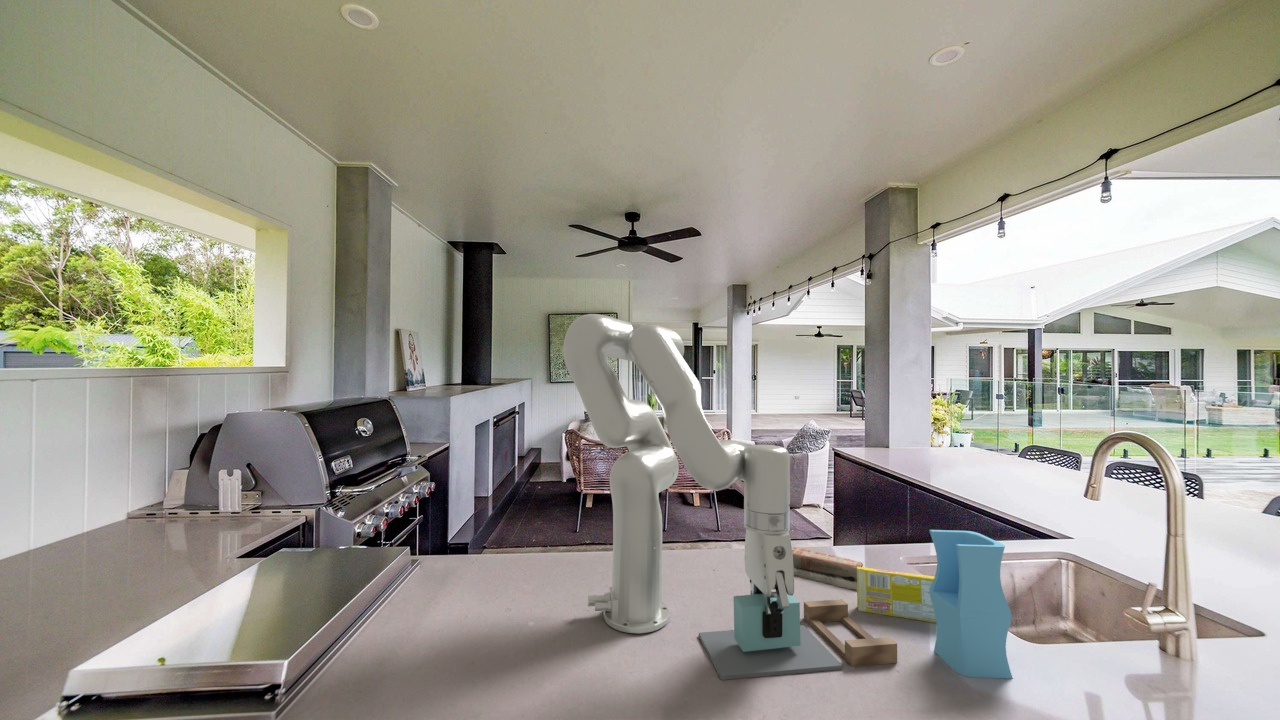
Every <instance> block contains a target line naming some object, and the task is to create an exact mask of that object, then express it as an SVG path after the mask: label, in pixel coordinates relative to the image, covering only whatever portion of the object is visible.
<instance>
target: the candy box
mask: <svg viewBox="0 0 1280 720" xmlns="http://www.w3.org/2000/svg"><path fill="white" fill-rule="evenodd" d="M934 577H935V575H925V574H918V573H911V572H910V573H909V572H902V571H895V570H887V569H879V568H871V567H863V566H862V567H857V590H856V593H857V599H856V601H857V603H856V605H857V610H858V611H859V612H863V613H864V612H866V613H870V614H871V613H872V614H878V615H885V616H890V617H895V618H903V619H910V620H913V621H915V620H916V621H921V622H927V623H928V622H929V623H934V624H937V623H936V617H935V612H934V608H933V604H932V601H931V598H930V592H929V589H930V587H931V584H932V582H933V580H934Z"/></svg>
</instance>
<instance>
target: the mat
mask: <svg viewBox="0 0 1280 720" xmlns="http://www.w3.org/2000/svg"><path fill="white" fill-rule="evenodd" d="M698 637H699V640H700V641H701V643H702V645H703V647H704V649H705V651H706V653H707V655H708V657H709V658H710V659H709V660H711V663H712V664H713V667H714V669H715V670H716V672H717V674H718V677H719V679H720V680H721V681H724V680H726V681H727V680H736V679H737V680H738V679H748V678H758V677H770V676H779V675H783V676H784V675H792V674H802V673H803V674H804V673H815V672H825V671H835V670H837V671H838V670H843V664H841V662H840V661H839V660H838V659H837V658H836V657H835V656H834V655H833V654H832V653H831V652H830V650H828V649H827V648H826V647H825V646H824V645H823V643H822V642H820V640H819V639H817V637H816V636H815V635H814V634H813V633H812V632H811V631H810V630H809V629H808V628H807V627H806V626H805V625H804V624H800V642H801V646H793V647H784V648H774V649H765V650H756V651H746V652H743V651H742V649H741V648H740V646H739V645H738V643H737V642H736V640H735V638H734V629H732V630H718V631H704V632H698Z"/></svg>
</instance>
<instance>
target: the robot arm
mask: <svg viewBox="0 0 1280 720" xmlns="http://www.w3.org/2000/svg"><path fill="white" fill-rule="evenodd" d="M563 341H564V342H563V347H562V350H563V351H562V353H563V354H562V355H563V360H564V364H565V366H566V369H567V371H568V373H569V376H570V378H571V380H572V382H573V383H574V386H575V387H576V389H577V391H578V394H579V395H580V399H581V401H582V403H583V406H584V408H585V410H586V413H587V415H588V417H589V418H588V419H589V421H590V422H591V425H592V427H593V429H594V432H595V434H596V436H597V438H598V440H599V441H600V442H601V444H603V446H606V447H607V448H612V449H618V448H619V449H620V448H625V447H626V448H627V450H628V452H625V453H623V454H622V455H621V456H619V457H618V458H617V459H616V460H615V462H614V463H613V464H612V467H611V469H610V471H609V472H610V473H609V489H610V495H611V496H610V497H611V501H612V502H611V503H612V515H613V516H612V522H613V523H612V524H613V525H612V536H613V537H612V582H611V583H612V585H611V586H609V589H608V590H609V591H607V592H604V594H588V595H587V606H588V607H594V611H595V612H600V611H603V620H604V622H605V623H606V624H607V625H608V626H609V627H611V629H612V628H613V629H614V630H616V631H619V632H623V633H628V634H646V633H647V634H648V633H652V632H655V631H658V630H660V629H662V628H664V626H666V625H667V624H668V623H669V620H670V609H669V607H668V606H667V605H666V603H665V602H664V601H663V600H662V592H663V591H662V589H663V588H662V587H663V583H662V581H663V577H662V576H663V514H662V509H661V505H660V497H659V495H660V494H659V493H662V492H663V491H665V490H666V489H668V488H670V487H671V486H672V485H673V484H674V483H675V482H676V480H677V478H678V476H679V470H680V469H679V467H680V465H679V461H678V460H679V459H678V457H679V458H680V460H681V462H682V463H683V465H684V467H685V469H686V470H687V471H688V473H689V475H690V476H691V477H692V479H693V480H694V481H695V482H696V483H697V484H698V485H699V486H701V488H703V489H706V490H709V491H721V490H724V489H727V488H728V487H729V486H731V485H732V484H733V483H737V482H740V481H743V483H744V486H743V488H744V491H743V494H744V495H743V497H744V498H743V511H744V512H743V514H744V515H743V517H744V518H743V527H744V528H745V541H744V571H745V574H746V576H747V577H748V578H749V583H750V593H749V595H753V594H764V604H765V612H763V636H764V638H778V637H782V614H783V613H784V609H785V608H788V607H789V601H788V597H787V594H788V595H790V596H793V595H794V594H795V575H794V567H793V553H792V550H793V546H792V540H791V535H790V530H791V527H790V526H791V523H790V521H791V520H790V519H791V515H790V514H791V509H790V508H791V500H790V499H791V496H790V495H791V494H790V493H791V482H790V481H791V458H790V457H791V456H790V453H789V451H788V449H786V447H784V446H779V445H774V444H750V443H745V442H741V441H736V440H732V439H722V440H719V439H718V438H717V436H716V434H715V433H714V431H713V429H712V428H711V426H710V425H709V422H708V420H707V418H706V417H705V414H704V410H703V406H702V394H703V393H702V391H703V390H702V385H701V382H700V381H699V379H698V378H697V377H696V374H694V372H693V370H692V369H691V368H690V366H689V364H688V363H687V361H686V360H685V358H684V355H685V345H684V341H683V340H682V337H681V336H680V335H679V334H678V333H677V332H676V331H674V330H673V329H670V328H667V327H664V326H661V325H657V324H639V323H634V322H631V321H627V320H622V319H618V318H615V317H611V316H608V315H604V314H598V313H588V314H584V315H580V316H579V317H577V318H576V319H575V320H574V321H573V322H572V323H571V324H570V325H569V327H568V329H567V331H566V333H565V336H564V340H563ZM605 358H613V359H621V360H624V361H628V362H629V361H630V362H633V363H634V364H635V366H636V368H638V371H639V372H640V374H641V376H642V377H643V379H644V380H645V382H646V383H647V385H648V386H649V389H650V390H651V392H652V393H653V395H654V397H655V399H656V400H657V402H658V404H659V405H660V407H661V409H662V413H663V419H664V422H665V427H666V430H667V433H668V435H667V434H666V431H665V429H664V427H663V425H662V423H661V421H660V419H659V417H658V415H657V414H656V412H655V411H654V409H653V408H652V407H651V406H650V405H649V404H648V403H646V402H645V401H643V400H639V399H633V398H632V399H629V398H628V395H626V393H625V391H624V388H623V387H622V385H621V383H620V380H619V378H618V376H617V375H616V373H615V372H614V370H613V369H612V367H611V366H610V365H609V364H608V362H607V360H606V359H605ZM668 436H669V437H668ZM675 451H676V452H675ZM676 454H677V455H676ZM677 456H678V457H677ZM773 590H775V591H773ZM776 597H777V600H776V601H773V602H772V603H771V604H770V598H776Z"/></svg>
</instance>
